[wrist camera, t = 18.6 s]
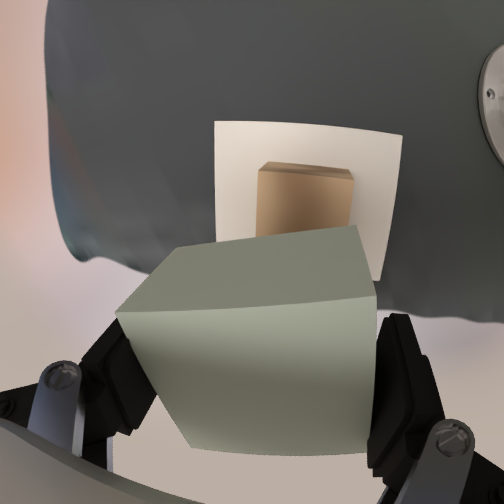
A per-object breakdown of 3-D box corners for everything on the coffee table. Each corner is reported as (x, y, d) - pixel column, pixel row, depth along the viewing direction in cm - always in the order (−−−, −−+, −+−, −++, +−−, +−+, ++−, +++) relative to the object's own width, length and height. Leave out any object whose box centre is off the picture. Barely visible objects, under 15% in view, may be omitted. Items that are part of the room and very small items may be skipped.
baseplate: (399, 134, 21) (402, 135, 20) (377, 275, 26) (379, 280, 25) (218, 120, 23) (214, 121, 22) (220, 258, 28) (217, 263, 27)
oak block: (348, 169, 22) (354, 180, 18) (339, 244, 24) (341, 267, 21) (267, 161, 23) (257, 170, 19) (264, 235, 25) (254, 257, 22)
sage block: (356, 224, 9) (376, 295, 6) (362, 368, 11) (367, 452, 8) (176, 247, 11) (114, 312, 7) (220, 373, 13) (191, 447, 9)
